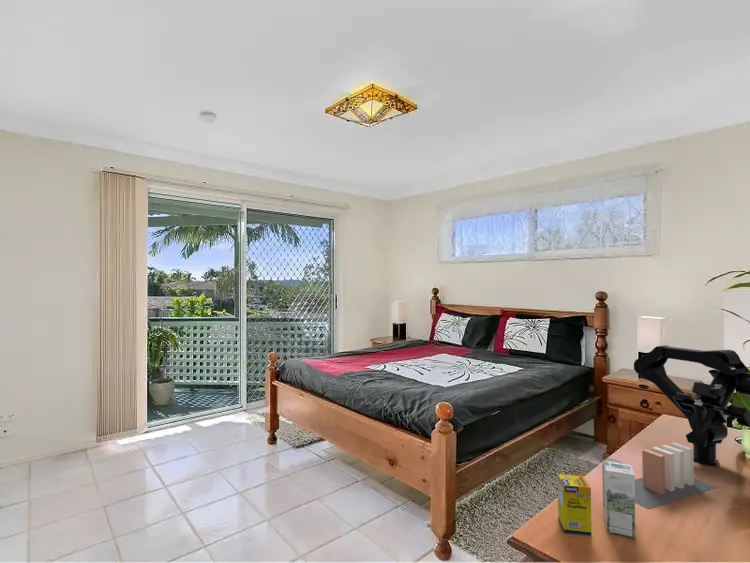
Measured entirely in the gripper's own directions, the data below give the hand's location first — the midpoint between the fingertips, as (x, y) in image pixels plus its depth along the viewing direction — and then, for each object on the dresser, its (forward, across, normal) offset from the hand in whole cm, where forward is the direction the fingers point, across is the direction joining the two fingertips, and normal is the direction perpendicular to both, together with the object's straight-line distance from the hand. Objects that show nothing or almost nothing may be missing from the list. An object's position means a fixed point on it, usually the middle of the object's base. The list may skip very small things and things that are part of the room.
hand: (698, 431), depth 119 cm
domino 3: (+14, 0, +4) cm, 15 cm away
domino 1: (+20, 0, -2) cm, 20 cm away
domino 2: (+17, 0, +1) cm, 17 cm away
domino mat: (+21, 0, -2) cm, 21 cm away
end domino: (+23, 0, -5) cm, 23 cm away
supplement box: (+47, +4, -28) cm, 55 cm away
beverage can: (+37, +2, -17) cm, 40 cm away
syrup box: (+41, +8, -21) cm, 47 cm away
